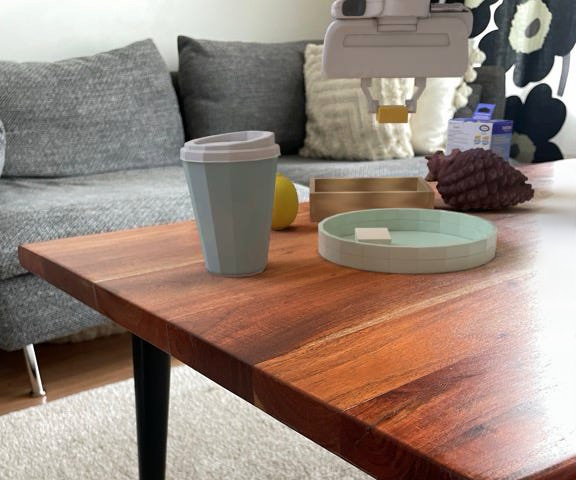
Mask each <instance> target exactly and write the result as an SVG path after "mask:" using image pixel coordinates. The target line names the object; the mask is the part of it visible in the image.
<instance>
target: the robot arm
mask: <svg viewBox="0 0 576 480" xmlns="http://www.w3.org/2000/svg"><path fill="white" fill-rule="evenodd" d="M330 15H331V17H332V19H333V20H334V21H332V22H331V23H330V24H329V25H328V27H327V29H326V31H325V34H324V39H323V46H322V51H321V53H322V54H321V66H320V67H321V68H320V69H321V70H320V73H321V75H322V76H323V77H324V78H325V79H329V80H331V79H332V80H334V79H335V80H336V79H338V80H339V79H340V80H342V79H343V80H344V79H360V88H361V91H362V92H363V95H364V96H365V99H366V100H367V114H368V115H369V114H370V115H372V114H375V115H376V113H378V106H379V105H380V100H379V99H374V98H373V96H372V94H371V92H370V89H369V88H372V84H373V83H372V82H373V79H414V80H413V81H414V82H413V83H414V84H413V86H414V87H416V90H415V91H414V93H413V95H412V96H411V98H409V99H407V98H405V100H404V106H406V107H407V108H409V110H408V114H416V113H417V109H418V108H417V107H418V100H419V99H420V97H421V96H422V94H423V93H424V91H425V90H426V88H427V79H437V78H438V79H439V78H441V79H443V78H444V79H445V78H449V79H450V78H452V79H453V78H455V79H456V78H463V77H464V76H465V75H466V74H467V72H468V70H469V62H470V61H469V57H470V55H469V54H470V53H469V51H470V50H469V49H470V48H469V37H470V36H471V35H472V32H473V25H474V15H473V11H472V10H471V9H470V8H468V7H467V6H465V5H464V4H463V3H462V2H454V3H443V2H431V0H335V1H334V2H333V3H332V4H331V7H330Z"/></svg>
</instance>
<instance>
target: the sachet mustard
mask: <svg viewBox="0 0 576 480" xmlns="http://www.w3.org/2000/svg"><path fill="white" fill-rule="evenodd" d="M408 110H409V108H407V107H406V105H405V104H379V106H378V113H375V121H377V123H378V124H408V123H409V113H408Z"/></svg>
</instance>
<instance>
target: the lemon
mask: <svg viewBox="0 0 576 480" xmlns="http://www.w3.org/2000/svg"><path fill="white" fill-rule="evenodd" d="M298 194H299V193H298V190H297V188H296V186H295V184H294V183H293V182H292V181H291V180H290V179H289V178H287V176H283V175H282V174H281V173H279V172H276V182H275V192H274V202H273V212H272V222H271V229H273V230H275V231H283V230H285V229H286V228H287V227H289V226H291V225H292V224H293V223H294V222H295V220H296V218H297V216H298V212H299V195H298Z"/></svg>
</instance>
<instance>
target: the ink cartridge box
mask: <svg viewBox="0 0 576 480" xmlns="http://www.w3.org/2000/svg"><path fill="white" fill-rule="evenodd" d="M496 107H497V104H495V103H483V102H482V103H480V102H479V103H478V105H477V107H476V108H475V110H474V112H473V115H472V117H469V118H468V117H458V118H449V119H448V120H447V127H446V130H447V131H446V139H445V140H446V141H445V148H444V149H445V150H444V151H445V152H444V155H450V154H451V152H452V149H456V148H459V149H460V150H461V151H462V152H463V151H466V150H469V149H471V148H473V149H476V148H478V147H479V148H483V149H484V150H488V149H490V150H491V151H492V152H493V153H496V154H497V155H498V156H499V157H503V158H504V161H507V162H509V163H510V153H511V145H512V137H513V128H514V120H508V119H493V118H492V117H493V114H494V112H495V110H496ZM483 109H488V110H489V112H483V111H480V110H483Z"/></svg>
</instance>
